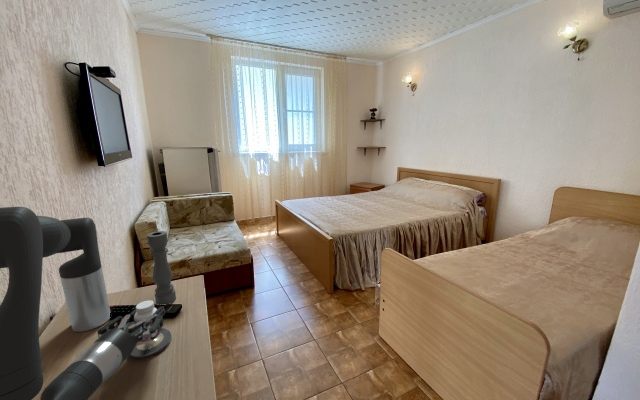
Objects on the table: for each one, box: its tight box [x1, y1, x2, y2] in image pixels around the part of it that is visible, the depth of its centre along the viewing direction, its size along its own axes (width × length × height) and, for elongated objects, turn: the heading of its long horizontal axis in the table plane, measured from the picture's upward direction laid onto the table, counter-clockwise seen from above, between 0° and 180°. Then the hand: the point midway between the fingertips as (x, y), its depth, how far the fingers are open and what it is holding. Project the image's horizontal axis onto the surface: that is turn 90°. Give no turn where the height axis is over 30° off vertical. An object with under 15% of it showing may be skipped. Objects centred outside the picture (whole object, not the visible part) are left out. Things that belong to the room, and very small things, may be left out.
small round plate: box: [129, 327, 172, 359], centre depth 72 cm, size 10×10×1 cm
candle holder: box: [146, 230, 177, 305], centre depth 89 cm, size 6×6×25 cm
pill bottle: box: [133, 300, 160, 343], centre depth 70 cm, size 6×5×10 cm
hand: (151, 309), depth 72 cm, fingers closed on pill bottle, 5 cm apart
